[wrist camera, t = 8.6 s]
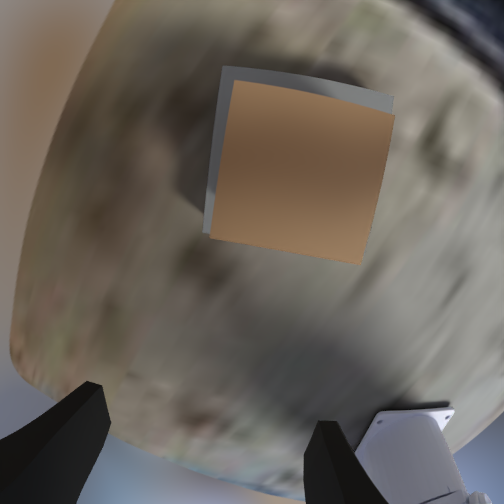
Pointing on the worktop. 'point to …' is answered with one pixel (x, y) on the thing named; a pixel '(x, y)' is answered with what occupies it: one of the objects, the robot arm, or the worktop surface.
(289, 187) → the walnut cube
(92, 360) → the worktop surface
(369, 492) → the robot arm
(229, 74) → the slate tile
